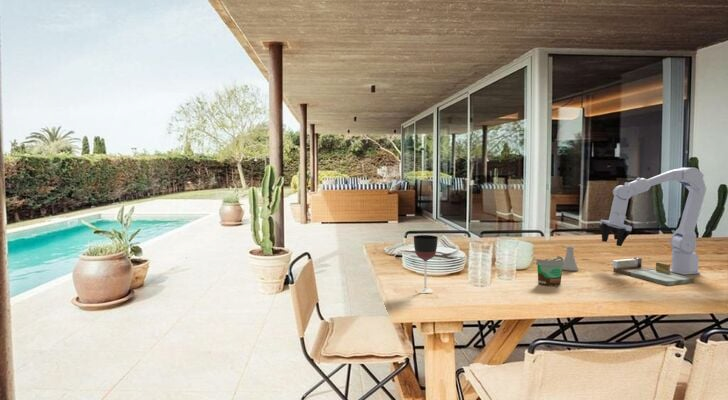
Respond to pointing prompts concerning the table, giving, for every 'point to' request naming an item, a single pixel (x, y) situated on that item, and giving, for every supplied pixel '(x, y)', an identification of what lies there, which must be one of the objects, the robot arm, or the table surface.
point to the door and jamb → (656, 274)
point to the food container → (550, 271)
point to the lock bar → (627, 263)
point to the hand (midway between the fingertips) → (611, 243)
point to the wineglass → (425, 251)
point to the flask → (570, 260)
